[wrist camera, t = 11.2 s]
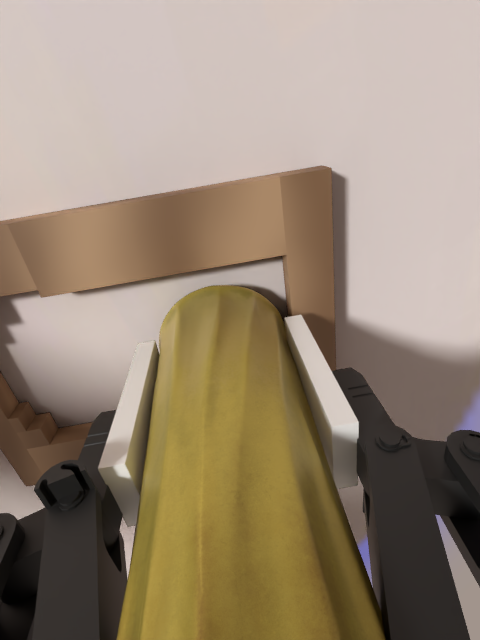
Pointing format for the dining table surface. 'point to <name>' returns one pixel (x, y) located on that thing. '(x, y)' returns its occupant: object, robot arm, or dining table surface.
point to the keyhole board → (166, 268)
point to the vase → (239, 492)
